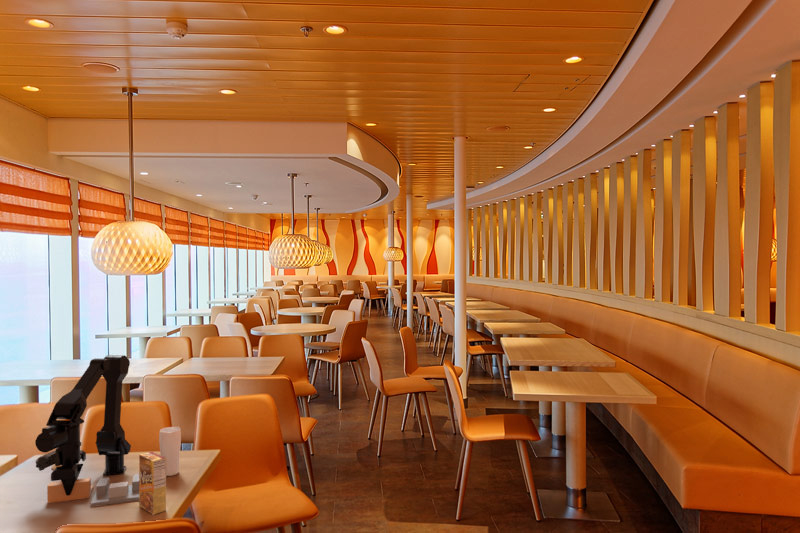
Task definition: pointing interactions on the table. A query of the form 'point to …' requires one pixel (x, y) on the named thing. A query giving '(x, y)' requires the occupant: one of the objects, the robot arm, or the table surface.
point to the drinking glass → (170, 448)
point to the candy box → (152, 482)
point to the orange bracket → (79, 492)
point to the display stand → (115, 492)
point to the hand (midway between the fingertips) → (69, 493)
